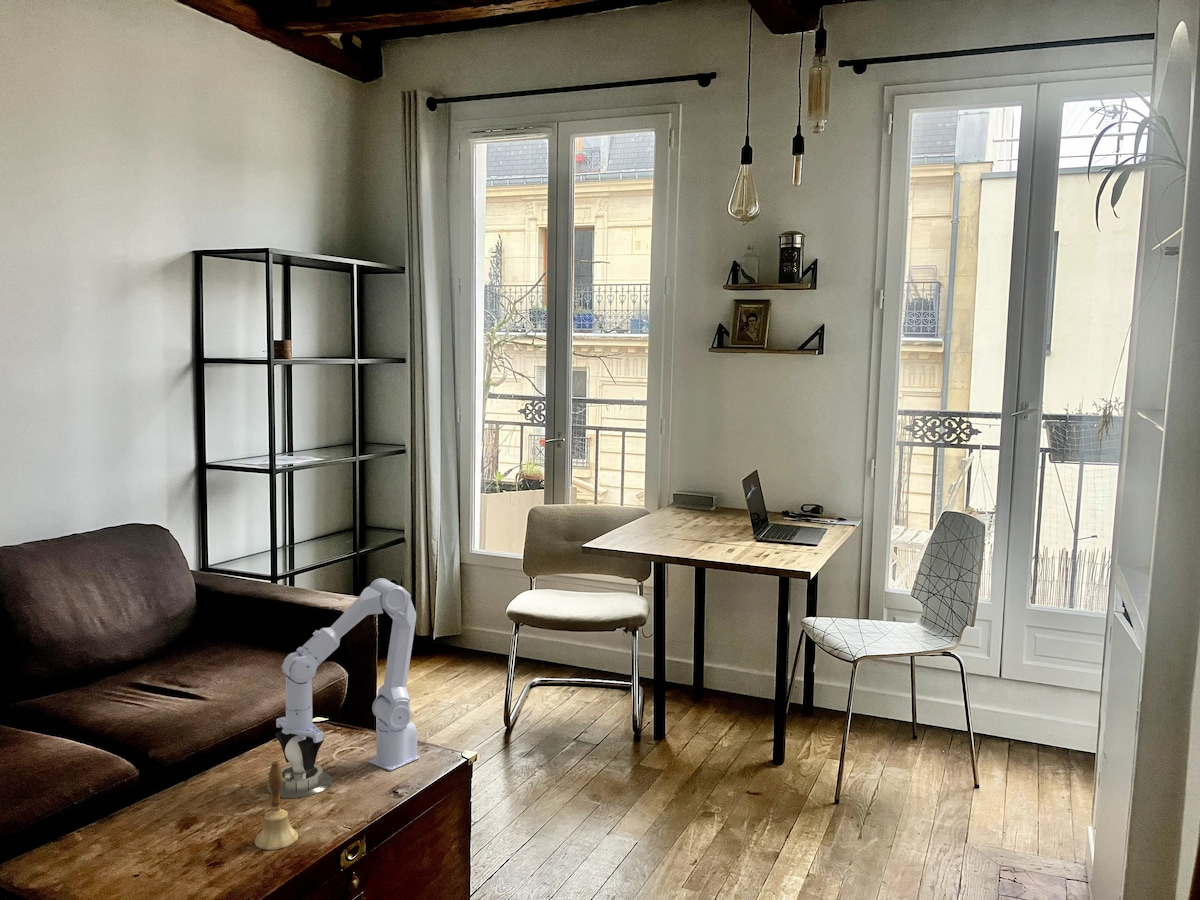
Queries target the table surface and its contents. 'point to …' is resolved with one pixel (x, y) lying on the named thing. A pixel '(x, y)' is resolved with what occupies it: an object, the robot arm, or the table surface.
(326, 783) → the lamp base
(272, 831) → the hand bell
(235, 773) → the table surface
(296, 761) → the lightbulb
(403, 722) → the robot arm
